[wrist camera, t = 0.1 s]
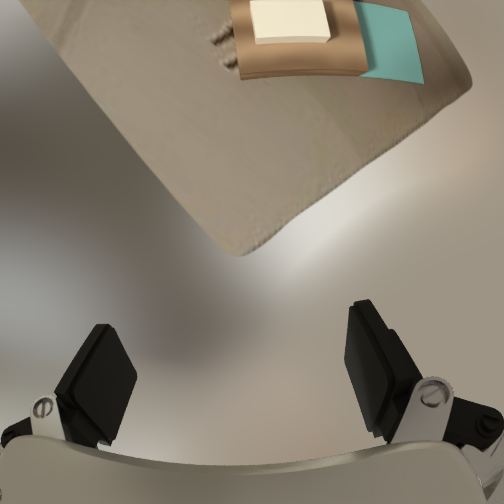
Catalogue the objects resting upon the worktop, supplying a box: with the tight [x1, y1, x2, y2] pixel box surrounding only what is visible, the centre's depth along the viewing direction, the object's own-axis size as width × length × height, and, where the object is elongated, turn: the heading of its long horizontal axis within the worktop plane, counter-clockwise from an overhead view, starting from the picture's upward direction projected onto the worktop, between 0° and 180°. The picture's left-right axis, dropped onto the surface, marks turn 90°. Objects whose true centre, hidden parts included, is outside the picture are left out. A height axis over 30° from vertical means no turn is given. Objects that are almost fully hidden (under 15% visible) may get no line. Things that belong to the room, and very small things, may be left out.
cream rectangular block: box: [250, 0, 331, 45], centre depth 24 cm, size 6×9×2 cm, turn 97°
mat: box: [353, 1, 424, 84], centre depth 28 cm, size 14×12×1 cm
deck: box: [229, 0, 369, 80], centre depth 27 cm, size 14×17×4 cm
